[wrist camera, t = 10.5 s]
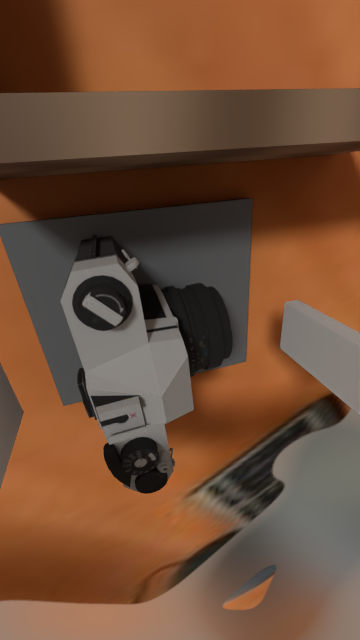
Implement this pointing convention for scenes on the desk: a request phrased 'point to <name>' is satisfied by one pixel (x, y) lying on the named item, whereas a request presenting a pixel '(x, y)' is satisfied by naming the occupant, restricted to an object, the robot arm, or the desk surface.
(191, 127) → the cubby
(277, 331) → the desk surface
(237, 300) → the mat
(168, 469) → the camera
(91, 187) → the desk surface
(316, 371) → the robot arm
